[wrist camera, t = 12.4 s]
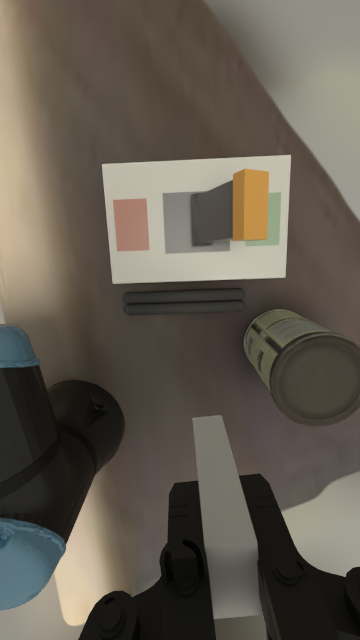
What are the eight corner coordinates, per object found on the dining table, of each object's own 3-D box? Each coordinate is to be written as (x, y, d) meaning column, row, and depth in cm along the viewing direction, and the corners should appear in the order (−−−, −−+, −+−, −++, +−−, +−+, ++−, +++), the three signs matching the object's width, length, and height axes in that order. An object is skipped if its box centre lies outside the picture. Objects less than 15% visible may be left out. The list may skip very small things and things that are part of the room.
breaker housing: (121, 280, 40) (112, 283, 35) (112, 176, 37) (101, 163, 32) (273, 275, 40) (285, 277, 35) (276, 168, 37) (291, 154, 31)
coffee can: (320, 358, 42) (385, 406, 28) (256, 382, 43) (289, 440, 30) (299, 297, 40) (358, 317, 26) (233, 323, 41) (256, 356, 28)
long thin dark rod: (125, 314, 41) (123, 316, 40) (123, 292, 41) (121, 293, 39) (243, 310, 41) (245, 312, 39) (243, 288, 40) (245, 289, 39)
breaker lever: (188, 246, 33) (243, 239, 24) (186, 196, 32) (244, 168, 22) (206, 246, 34) (267, 239, 25) (206, 197, 33) (269, 171, 24)
